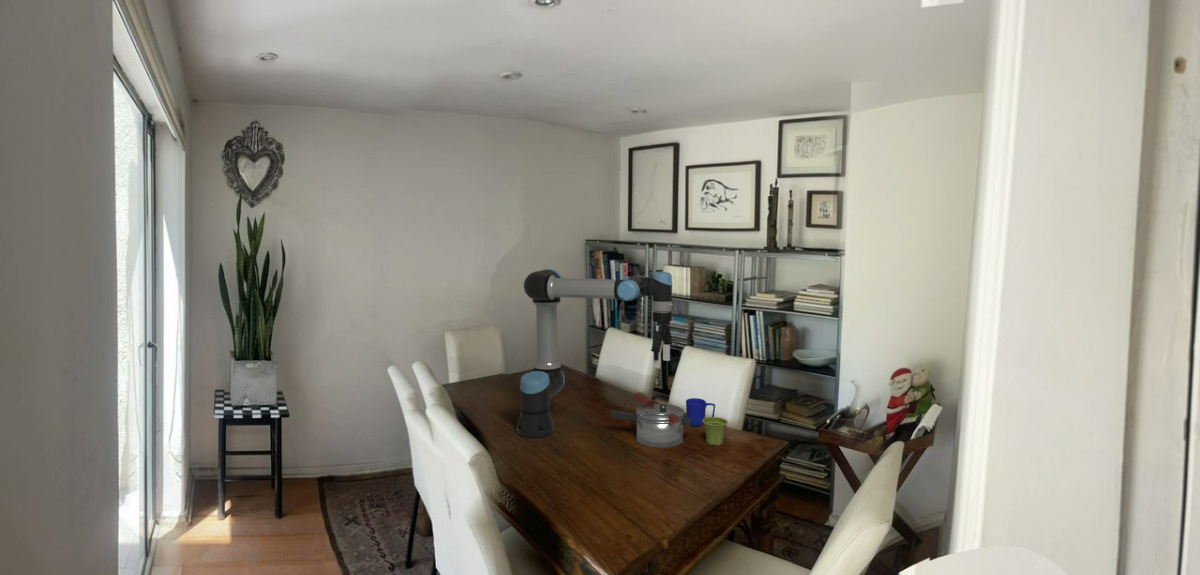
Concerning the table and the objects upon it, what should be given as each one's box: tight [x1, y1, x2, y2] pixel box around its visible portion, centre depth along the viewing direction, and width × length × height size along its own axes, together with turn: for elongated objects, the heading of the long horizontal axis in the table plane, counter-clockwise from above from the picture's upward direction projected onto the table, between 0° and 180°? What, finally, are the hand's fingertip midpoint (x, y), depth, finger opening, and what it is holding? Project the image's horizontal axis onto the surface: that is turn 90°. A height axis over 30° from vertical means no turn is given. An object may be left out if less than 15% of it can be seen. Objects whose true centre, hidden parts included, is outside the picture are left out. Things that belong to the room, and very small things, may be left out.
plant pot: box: [703, 416, 728, 446], centre depth 220 cm, size 9×9×9 cm
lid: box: [634, 391, 685, 423], centre depth 227 cm, size 32×19×4 cm, turn 23°
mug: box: [685, 397, 716, 427], centre depth 241 cm, size 8×12×10 cm
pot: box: [610, 410, 692, 449], centre depth 226 cm, size 32×18×10 cm, turn 73°
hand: (661, 364), depth 230 cm, fingers open, 13 cm apart
